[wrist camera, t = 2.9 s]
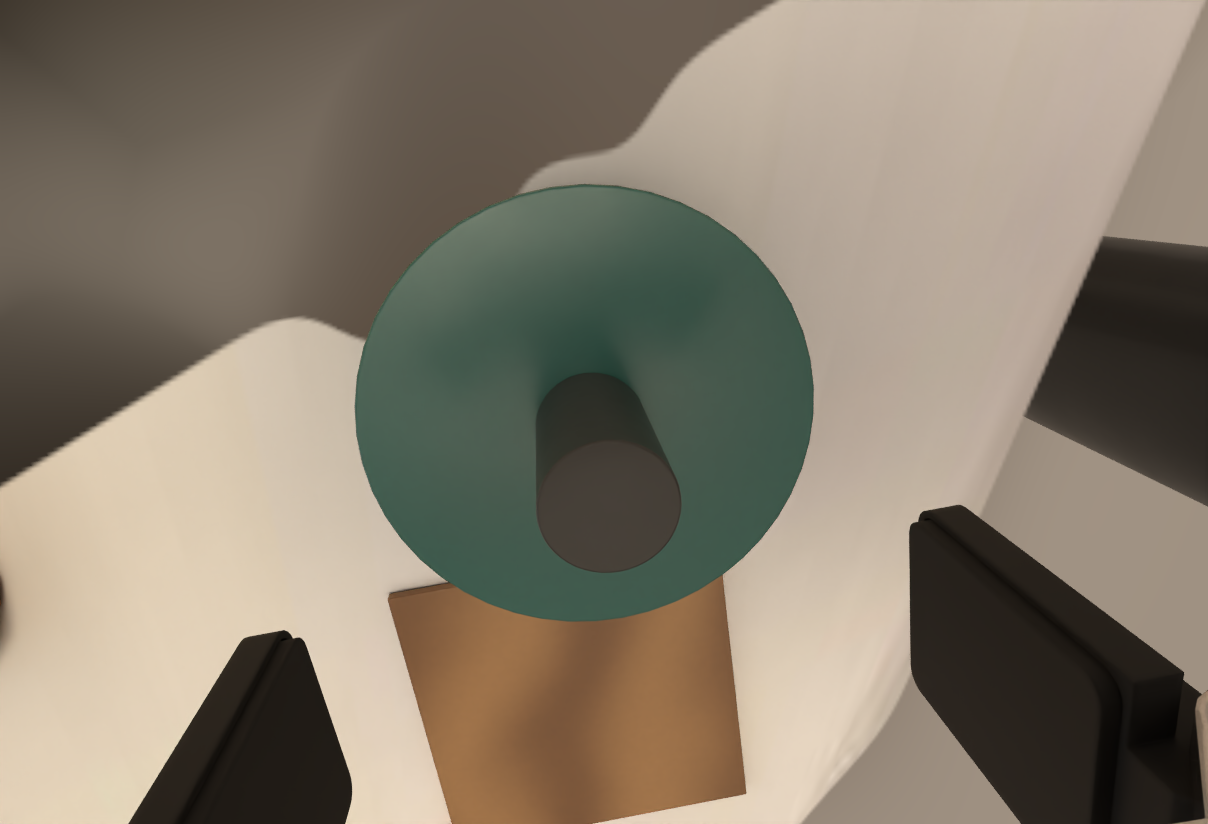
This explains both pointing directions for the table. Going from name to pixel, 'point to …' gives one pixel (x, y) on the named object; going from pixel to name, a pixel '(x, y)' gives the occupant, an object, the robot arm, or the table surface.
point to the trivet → (572, 707)
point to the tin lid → (584, 402)
